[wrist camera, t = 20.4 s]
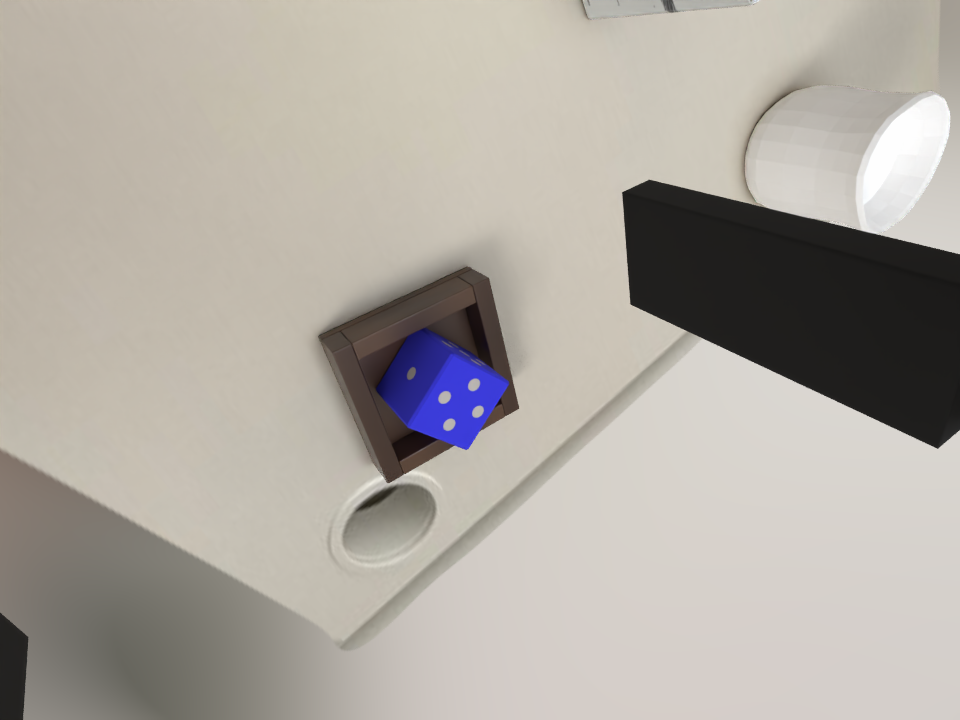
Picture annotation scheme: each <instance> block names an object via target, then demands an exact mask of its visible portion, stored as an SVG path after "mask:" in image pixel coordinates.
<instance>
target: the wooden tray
mask: <svg viewBox="0 0 960 720" xmlns="http://www.w3.org/2000/svg"><path fill="white" fill-rule="evenodd" d="M423 328H427V329H429V330H430V331H432V332H434V333H436V334H438V335H440V336H442V337H444V338H445V339H447V340H449V341H451V342H453V343H455V344H457V345H458V346H460V347H462V348H464V349H466V350H468V351H470V352H471V353H473V354H474V355H475V356H477V357H478V358H479V359H480V360H482V361H483V362H484V363H486V364H487V365H488V366H489V367H491V368H492V369H493V370H495V371H496V372H497V373H499V374H500V375H501V376H502V377H504V378H505V379H506V380H508V381H509V385H508V387H507V388H506V390H505V391H504V393H503V395H502V396H501V398H500V399H499V401H498V403H497V404H496V406H495V407H494V409H493V410H492V412H491V414H490V415H489V417H488V418H487V420H486V422H485V423H484V425H483V426H482V428H481V430H483V429H484V428H486V427H488V426H490V425H491V424H493V423H495V422H497V421H498V420H500V419H502V418H504V417H505V416H507V415H509V414H511V413H512V412H514V411H516V410H517V409H519V405H518V401H517V397H516V393H515V388H514V384H513V380H512V375H511V371H510V367H509V362H508V358H507V354H506V350H505V345H504V341H503V337H502V332H501V328H500V324H499V320H498V315H497V311H496V307H495V302H494V298H493V294H492V289H491V285H490V281H489V278H488V277H486V276H484V275H482V274H481V273H479V272H477V271H475V270H473V269H472V268H470V267H466V268H464V269H462V270H460V271H458V272H455V273H453V274H451V275H449V276H447V277H445V278H442V279H440V280H438V281H436V282H434V283H432V284H430V285H427V286H425V287H423V288H421V289H419V290H417V291H414V292H412V293H410V294H408V295H406V296H404V297H402V298H399V299H397V300H395V301H393V302H391V303H389V304H386V305H384V306H382V307H380V308H378V309H376V310H374V311H371V312H369V313H367V314H365V315H363V316H361V317H358V318H356V319H354V320H352V321H350V322H348V323H346V324H343V325H341V326H339V327H337V328H335V329H333V330H330V331H328V332H326V333H324V334H322V335H320V336H319V339H320V342H321V344H322V346H323V348H324V351H325V353H326V355H327V358H328V360H329V362H330V365H331V367H332V369H333V371H334V374H335V376H336V378H337V381H338V383H339V385H340V388H341V390H342V392H343V394H344V397H345V399H346V401H347V404H348V406H349V408H350V411H351V413H352V415H353V417H354V420H355V422H356V424H357V427H358V429H359V431H360V434H361V436H362V438H363V440H364V443H365V445H366V447H367V450H368V452H369V454H370V456H371V459H372V461H373V463H374V465H375V466H376V467H377V469H378V470H379V472H380V473H381V475H382V476H383V477H384V479H385V480H386V482H387V483H390V482H392V481H394V480H395V479H397V478H399V477H401V476H402V475H404V474H406V473H408V472H409V471H411V470H413V469H415V468H416V467H418V466H420V465H422V464H423V463H425V462H427V461H429V460H430V459H432V458H434V457H435V456H437V455H439V454H441V453H442V452H444V451H446V450H448V449H449V448H451V447H453V446H455V445H452V444H449V443H447V442H444V441H442V440H439V439H436V438H434V437H431V436H429V435H426V434H423V433H421V432H418V431H415V430H413V429H410V428H408V427H407V426H406V425H405V424H404V423H403V422H402V420H401V419H400V418H399V417H398V416H397V415H396V413H395V412H394V411H393V410H392V409H391V408H390V407H389V405H388V404H387V403H386V402H385V401H384V400H383V398H382V397H381V396H380V395H379V394H378V393H377V391H376V388H377V387H378V385H379V383H380V382H381V380H382V378H383V377H384V375H385V373H386V372H387V370H388V368H389V367H390V365H391V364H392V362H393V360H394V359H395V357H396V355H397V354H398V352H399V350H400V349H401V347H402V345H403V344H404V342H405V340H406V339H407V337H408V336H409V335H411V334H413V333H415V332H417V331H419V330H421V329H423ZM481 430H480V431H481Z"/></svg>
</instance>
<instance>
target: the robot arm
mask: <svg viewBox="0 0 960 720" xmlns="http://www.w3.org/2000/svg"><path fill="white" fill-rule="evenodd" d="M622 194H623V208H624V222H625V236H626V249H627V263H628V277H629V290H630V304H631V305H633V306H635V307H637V308H639V309H641V310H643V311H646V312H648V313H650V314H652V315H654V316H656V317H658V318H660V319H663V320H665V321H667V322H669V323H671V324H673V325H675V326H677V327H680V328H682V329H684V330H686V331H688V332H690V333H692V334H695V335H697V336H699V337H701V338H703V339H705V340H707V341H710V342H712V343H714V344H716V345H718V346H720V347H722V348H724V349H726V350H729V351H731V352H733V353H735V354H737V355H739V356H741V357H744V358H746V359H748V360H750V361H752V362H754V363H756V364H758V365H761V366H763V367H765V368H767V369H769V370H771V371H773V372H776V373H778V374H780V375H782V376H784V377H786V378H788V379H790V380H793V381H795V382H797V383H799V384H801V385H803V386H806V387H807V388H810V389H812V390H814V391H816V392H818V393H820V394H823V395H824V396H827V397H829V398H831V399H833V400H835V401H837V402H839V403H842V404H844V405H846V406H848V407H850V408H852V409H854V410H856V411H859V412H861V413H863V414H865V415H867V416H869V417H871V418H874V419H876V420H878V421H880V422H882V423H884V424H886V425H888V426H891V427H893V428H895V429H897V430H899V431H901V432H903V433H906V434H908V435H910V436H912V437H914V438H916V439H918V440H920V441H922V442H925V443H927V444H929V445H931V446H933V447H935V448H937V449H938V448H939V447H940V446H941V445H943V444H944V443H945V442H946V441H947V440H949V439H950V438H951V437H952V436H953V435H954V434H956V433H957V432H958V431H959V430H960V254H956V253H952V252H948V251H944V250H940V249H936V248H931V247H927V246H923V245H919V244H915V243H911V242H906V241H902V240H898V239H893V238H890V237H885V236H881V235H877V234H873V233H869V232H865V231H860V230H856V229H852V228H848V227H843V226H839V225H835V224H831V223H827V222H823V221H819V220H815V219H811V218H806V217H802V216H798V215H794V214H790V213H786V212H781V211H777V210H773V209H769V208H765V207H761V206H756V205H752V204H748V203H744V202H740V201H736V200H731V199H727V198H723V197H719V196H715V195H711V194H706V193H702V192H698V191H694V190H690V189H686V188H681V187H677V186H673V185H669V184H665V183H661V182H656V181H652V180H648V181H646V182H643V183H641V184H639V185H637V186H635V187H633V188H631V189H629V190H626V191H624V192H622ZM27 649H28V637H27V636H26V635H25V634H24V633H23V632H22V631H20V630H19V629H18V628H17V627H16V626H15V625H14V624H13V623H11V622H10V621H9V620H8V619H7V618H6V617H4V616H3V615H2V614H1V613H0V720H23V711H24V710H23V709H24V695H25V680H26V665H27Z"/></svg>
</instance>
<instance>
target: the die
mask: <svg viewBox="0 0 960 720" xmlns="http://www.w3.org/2000/svg"><path fill="white" fill-rule="evenodd" d="M508 385H509V381H508V380H506V379H505V378H504V377H502V376H501V375H500V374H499V373H497V372H496V371H495V370H493V369H492V368H491V367H489V366H488V365H487V364H486V363H484V362H483V361H482V360H480V359H479V358H478V357H477V356H475V355H474V354H473V353H471V352H470V351H468V350H466V349H464V348H462V347H460V346H458V345H457V344H455V343H453V342H451V341H449V340H447V339H445V338H444V337H442V336H440V335H438V334H436V333H434V332H432V331H430V330H429V329H427V328H423V329H421V330H419V331H417V332H415V333H413V334H411V335H409V336H408V337H407V339H406V340H405V342H404V344H403V345H402V347H401V349H400V350H399V352H398V354H397V355H396V357H395V359H394V360H393V362H392V364H391V365H390V367H389V368H388V370H387V372H386V373H385V375H384V377H383V378H382V380H381V382H380V383H379V385H378V387H377V388H376V391H377V393H378V394H379V395H380V396H381V397H382V398H383V400H384V401H385V402H386V403H387V404H388V405H389V407H390V408H391V409H392V410H393V411H394V412H395V413H396V415H397V416H398V417H399V418H400V419H401V420H402V422H403V423H404V424H405V425H406V426H407V427H408V428H410V429H413V430H415V431H418V432H421V433H423V434H426V435H429V436H431V437H434V438H436V439H439V440H442V441H444V442H447V443H449V444H452V445H455V446H457V447H460V448H462V449H465V450H467V449H469V447H470V445H471V444H472V442H473V441H474V439H475V438H476V436H477V434H478V433H479V431H480V430H481V428H482V426H483V425H484V423H485V422H486V420H487V418H488V417H489V415H490V414H491V412H492V410H493V409H494V407H495V406H496V404H497V403H498V401H499V399H500V398H501V396H502V395H503V393H504V391H505V390H506V388H507V387H508Z"/></svg>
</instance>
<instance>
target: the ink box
mask: <svg viewBox="0 0 960 720" xmlns="http://www.w3.org/2000/svg"><path fill="white" fill-rule="evenodd" d="M582 1H583V4H584V7H585V10H586V14H587V16H588V18H589V19H590V20H595V19H605V18H617V17H629V16H640V15H649V14H661V13H672V12H684V11H695V10H707V9H719V8H729V7H742V6H750V5H754V4H755V3H756V2H758V1H759V0H582Z"/></svg>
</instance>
